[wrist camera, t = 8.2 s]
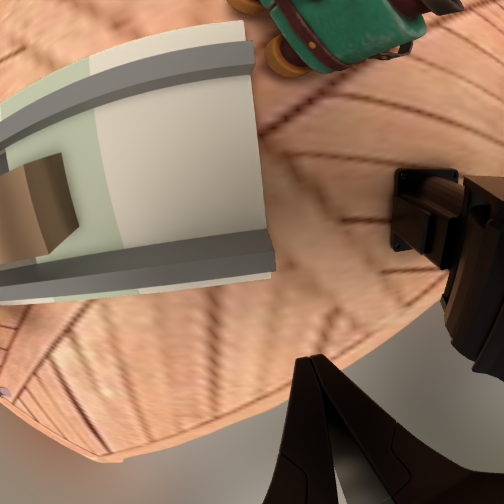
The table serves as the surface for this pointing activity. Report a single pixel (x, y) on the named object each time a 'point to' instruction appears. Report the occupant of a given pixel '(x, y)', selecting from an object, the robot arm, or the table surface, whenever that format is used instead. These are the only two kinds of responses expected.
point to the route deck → (146, 168)
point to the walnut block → (35, 209)
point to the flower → (4, 392)
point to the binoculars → (341, 31)
